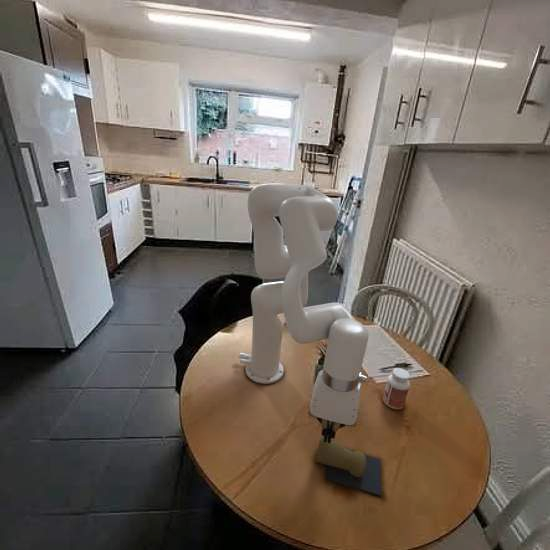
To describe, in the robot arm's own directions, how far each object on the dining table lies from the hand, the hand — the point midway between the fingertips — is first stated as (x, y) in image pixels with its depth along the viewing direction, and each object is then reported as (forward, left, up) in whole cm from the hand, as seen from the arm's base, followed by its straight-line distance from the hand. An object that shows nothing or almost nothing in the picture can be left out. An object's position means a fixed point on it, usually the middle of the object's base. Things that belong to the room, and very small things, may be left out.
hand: (327, 437), depth 72 cm
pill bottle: (+18, +26, -8) cm, 33 cm away
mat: (+7, 0, -7) cm, 10 cm away
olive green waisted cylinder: (-2, 0, -4) cm, 5 cm away
